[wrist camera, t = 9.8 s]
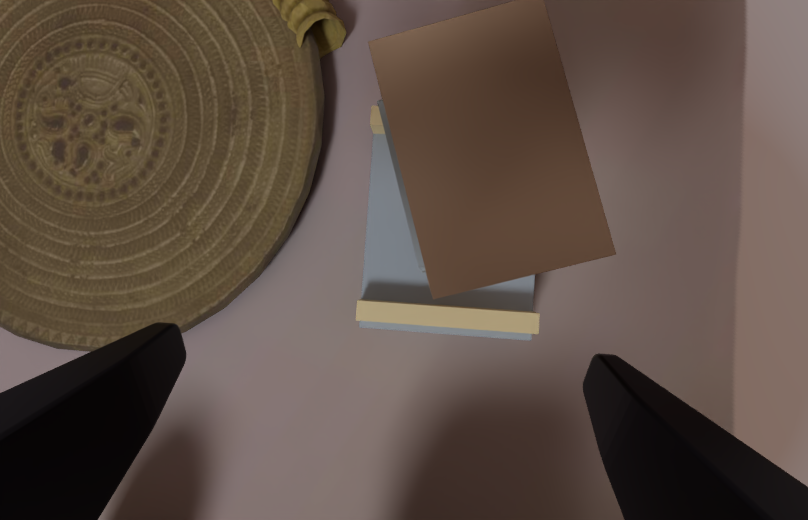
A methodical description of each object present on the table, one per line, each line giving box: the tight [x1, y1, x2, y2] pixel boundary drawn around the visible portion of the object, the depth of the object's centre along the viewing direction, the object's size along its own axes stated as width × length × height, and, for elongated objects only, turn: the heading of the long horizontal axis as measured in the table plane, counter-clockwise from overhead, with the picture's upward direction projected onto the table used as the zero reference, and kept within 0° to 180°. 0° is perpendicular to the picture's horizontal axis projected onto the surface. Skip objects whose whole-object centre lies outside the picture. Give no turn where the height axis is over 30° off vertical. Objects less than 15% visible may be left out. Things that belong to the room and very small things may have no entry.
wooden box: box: [368, 0, 616, 299], centre depth 14 cm, size 6×4×12 cm
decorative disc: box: [0, 0, 346, 352], centre depth 23 cm, size 29×3×30 cm
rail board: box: [356, 106, 540, 341], centre depth 21 cm, size 12×9×3 cm
